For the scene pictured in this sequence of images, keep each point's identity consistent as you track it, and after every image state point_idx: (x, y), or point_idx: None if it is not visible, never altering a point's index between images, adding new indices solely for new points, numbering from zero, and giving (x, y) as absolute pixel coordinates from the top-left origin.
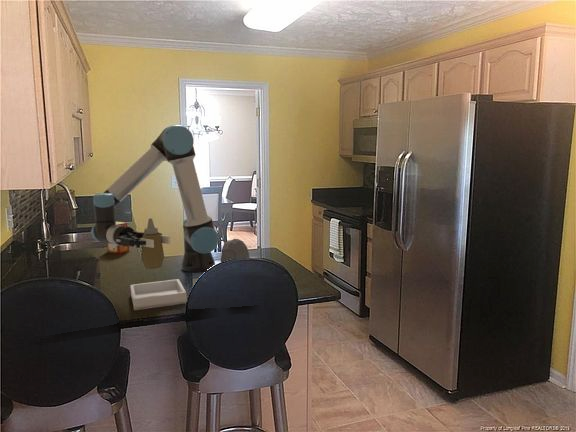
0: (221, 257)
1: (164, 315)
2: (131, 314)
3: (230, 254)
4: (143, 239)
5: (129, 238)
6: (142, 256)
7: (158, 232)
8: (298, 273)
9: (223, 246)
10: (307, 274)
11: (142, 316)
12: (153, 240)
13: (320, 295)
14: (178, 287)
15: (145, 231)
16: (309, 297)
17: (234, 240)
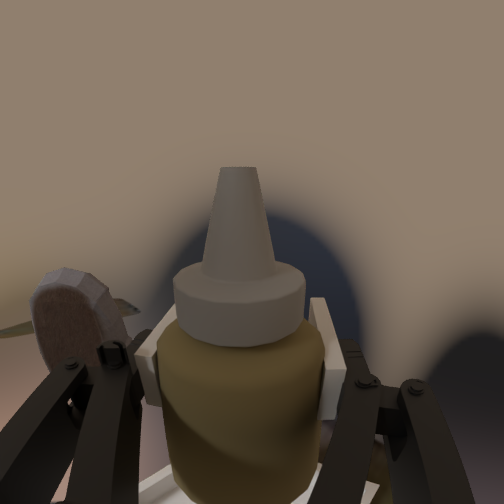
0: (102, 324)
1: (333, 426)
2: (388, 482)
3: (112, 298)
4: (337, 346)
5: (422, 442)
6: (316, 461)
7: (104, 345)
8: (15, 333)
9: (85, 293)
10: (24, 325)
11: (374, 454)
12: (311, 301)
13: (126, 305)
14: (157, 492)
15: (304, 295)
16: (136, 310)
17: (72, 269)
